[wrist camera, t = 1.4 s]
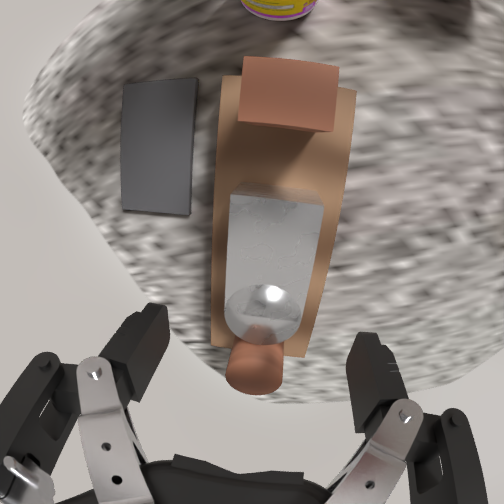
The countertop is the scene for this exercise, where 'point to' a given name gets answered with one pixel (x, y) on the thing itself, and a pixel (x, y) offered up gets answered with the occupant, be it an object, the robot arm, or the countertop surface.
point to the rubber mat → (158, 145)
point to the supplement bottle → (279, 8)
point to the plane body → (279, 174)
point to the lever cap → (270, 259)
